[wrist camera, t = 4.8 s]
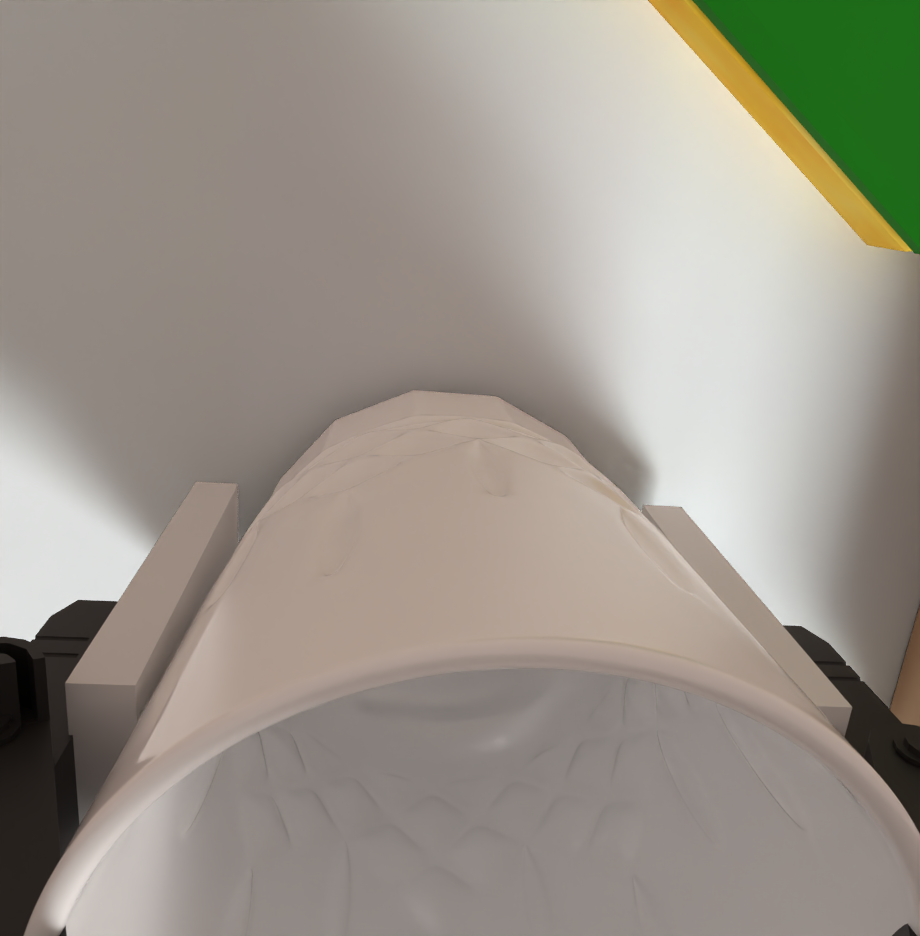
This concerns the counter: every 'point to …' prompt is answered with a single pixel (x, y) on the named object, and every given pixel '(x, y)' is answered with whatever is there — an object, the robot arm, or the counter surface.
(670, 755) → the white cup
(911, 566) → the counter surface
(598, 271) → the counter surface
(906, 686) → the walnut plinth
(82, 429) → the counter surface
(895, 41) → the dish sponge
